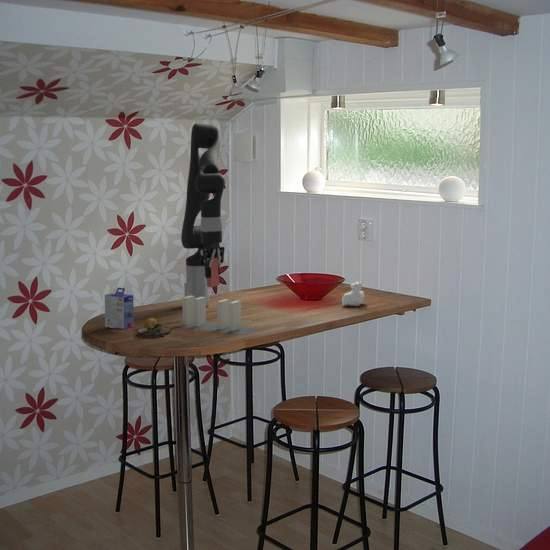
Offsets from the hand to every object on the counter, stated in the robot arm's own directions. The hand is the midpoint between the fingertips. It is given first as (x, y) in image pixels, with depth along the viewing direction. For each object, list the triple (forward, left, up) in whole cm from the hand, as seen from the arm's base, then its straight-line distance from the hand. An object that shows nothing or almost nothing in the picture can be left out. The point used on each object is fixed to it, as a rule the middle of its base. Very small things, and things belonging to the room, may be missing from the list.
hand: (212, 276), depth 274 cm
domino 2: (-5, -2, -18) cm, 19 cm away
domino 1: (-10, -2, -18) cm, 21 cm away
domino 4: (+10, -2, -18) cm, 21 cm away
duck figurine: (+30, +60, -19) cm, 70 cm away
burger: (-13, -19, -19) cm, 30 cm away
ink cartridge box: (-30, -17, -19) cm, 39 cm away
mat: (+3, -2, -19) cm, 19 cm away
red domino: (0, 0, -4) cm, 4 cm away
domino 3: (+5, -2, -18) cm, 19 cm away
